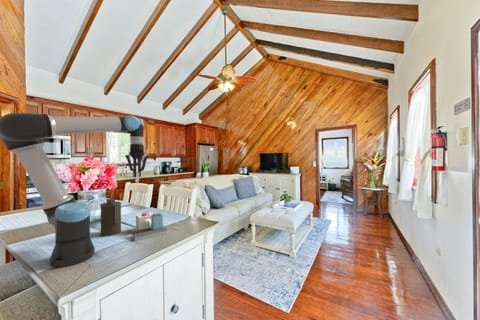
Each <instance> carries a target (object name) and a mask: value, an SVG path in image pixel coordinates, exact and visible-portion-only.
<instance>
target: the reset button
mask: <svg viewBox="0 0 480 320" xmlns="http://www.w3.org/2000/svg"><path fill="white" fill-rule="evenodd" d="M149 213H150V212H142V213H141V214H142V216H149Z"/></svg>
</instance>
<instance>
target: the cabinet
mask: <svg viewBox="0 0 480 320" xmlns="http://www.w3.org/2000/svg"><path fill="white" fill-rule="evenodd" d="M148 213H149V216H142V213H139V214H135V230H140V229H144V228H149V227H151V215H152V214H154V213H153V212H148Z"/></svg>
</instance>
